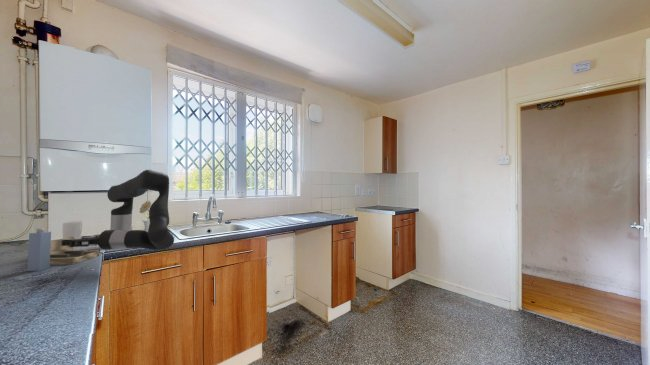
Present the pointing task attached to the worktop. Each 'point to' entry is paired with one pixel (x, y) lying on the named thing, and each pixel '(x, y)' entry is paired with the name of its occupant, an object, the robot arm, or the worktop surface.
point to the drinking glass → (72, 230)
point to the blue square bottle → (39, 250)
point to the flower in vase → (142, 210)
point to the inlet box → (68, 253)
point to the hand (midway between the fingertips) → (72, 240)
